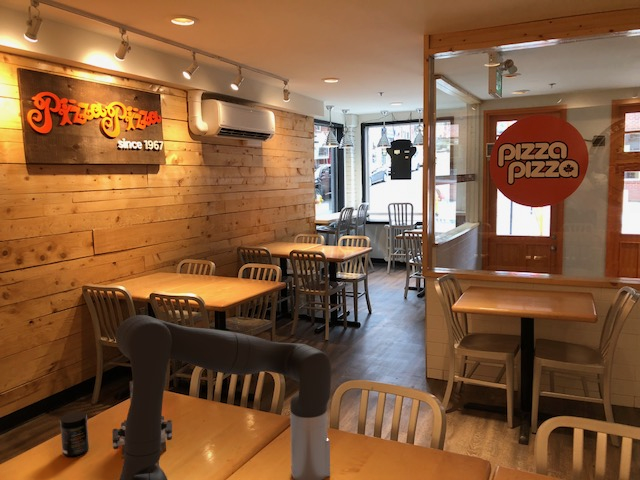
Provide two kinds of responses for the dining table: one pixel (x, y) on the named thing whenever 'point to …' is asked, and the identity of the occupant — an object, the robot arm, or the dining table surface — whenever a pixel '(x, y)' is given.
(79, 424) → the supplement container
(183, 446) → the dining table surface
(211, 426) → the dining table surface
